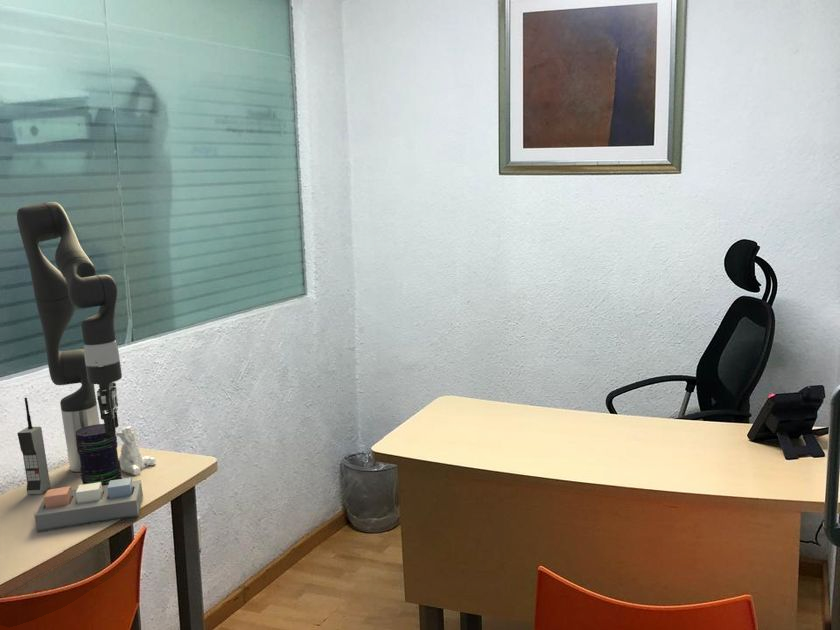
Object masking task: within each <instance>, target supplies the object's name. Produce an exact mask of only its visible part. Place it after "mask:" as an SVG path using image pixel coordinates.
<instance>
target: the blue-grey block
mask: <svg viewBox="0 0 840 630" xmlns="http://www.w3.org/2000/svg"><path fill="white" fill-rule="evenodd" d="M132 481H133V478H132V477H124V478H122V479H118V480H111V481H110V482H109V485H108V495H109V498H115V497H122V496H129V495H133V484H132Z"/></svg>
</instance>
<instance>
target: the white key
mask: <svg viewBox="0 0 840 630" xmlns="http://www.w3.org/2000/svg"><path fill="white" fill-rule="evenodd" d="M76 490H77V491H76V496H77V503H82V502H89V501H95V500H102V497H103V491H102V484H101V482H97V483H91V484H84V485H83V484H78V487H77V489H76Z"/></svg>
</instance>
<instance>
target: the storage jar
mask: <svg viewBox="0 0 840 630" xmlns="http://www.w3.org/2000/svg"><path fill="white" fill-rule="evenodd" d="M116 433H117V432H116ZM116 433H115V434H114V435H106V433H105V426H104V423H100V424H97V425H91V426H87V427H84V428H81V429H79V430H77V431H76V432H75V435H76V445H77V452H78V454H79V456H80V463H81V468H80V472H79V473H80V479H81V481H82V485H84V484H91V483H97V482H101V484H102V486H104V485H109V482H110V481H111V480H118V479H123V478H122V469H121V467H120V461H119V459H118V458H119V454H118V441H117V440H118V438H117V437H118V436H117V435H116Z"/></svg>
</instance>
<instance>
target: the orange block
mask: <svg viewBox="0 0 840 630" xmlns="http://www.w3.org/2000/svg"><path fill="white" fill-rule="evenodd" d="M71 490H72V489H71V486H66V487H65V486H64V487H56V488H51V489H50V488H48V489H47V490H46V491H45V492H46V493H45V495H44V496H43V499H44V501H45V507H46V508H49V507H55V506H62V505H69V504H70V503H71V501H72V494H71Z"/></svg>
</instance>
